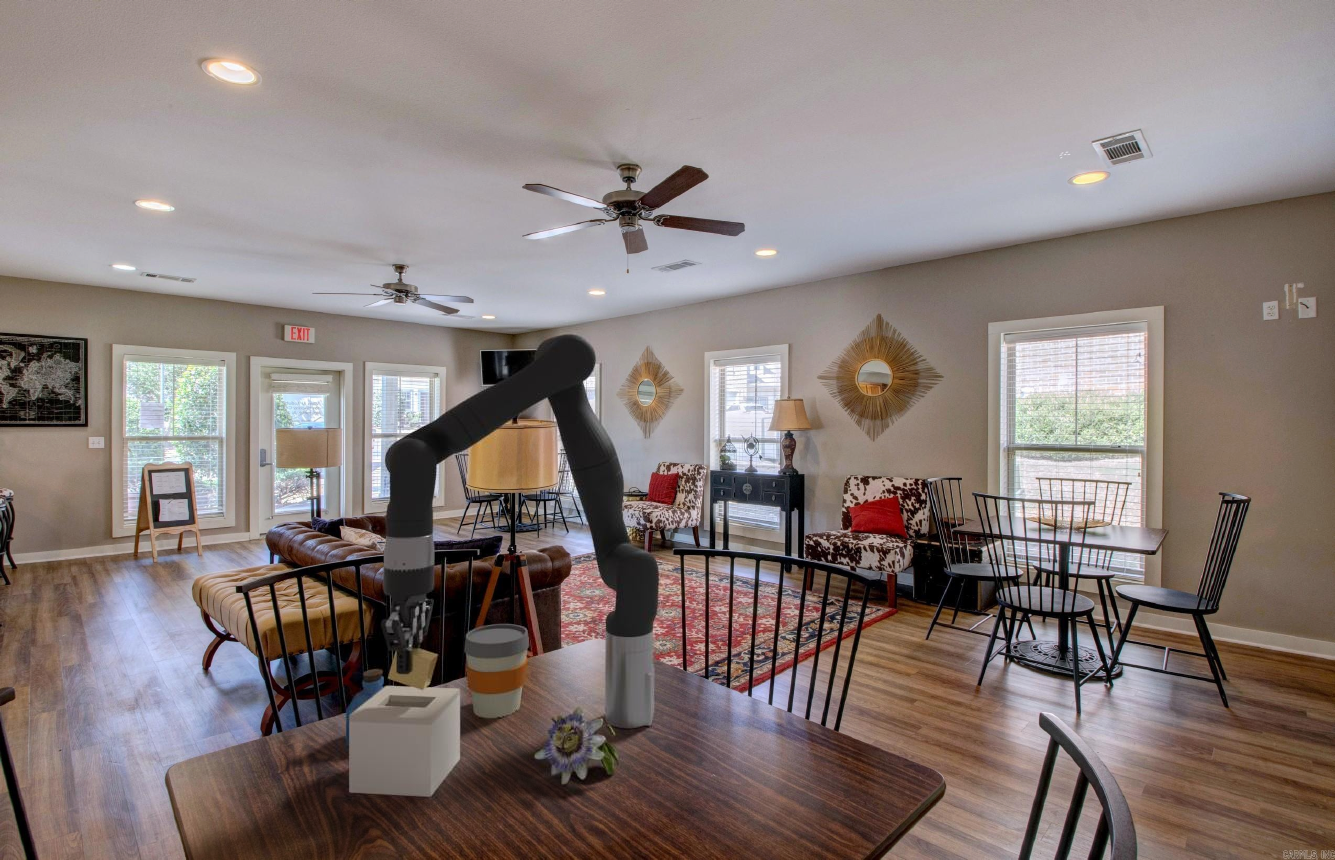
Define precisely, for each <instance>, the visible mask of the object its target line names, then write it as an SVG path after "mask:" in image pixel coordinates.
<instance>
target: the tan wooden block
mask: <svg viewBox="0 0 1335 860" xmlns="http://www.w3.org/2000/svg"><path fill="white" fill-rule="evenodd" d="M411 650H412V654H411V672H410V673H409V674H398V673H397V672H396V661H397V652H396V651H395V653H394V655H393V659H392V663H391V666H390V670H389V673H388V676H387V679H388V680H392V681H394V682H398V683H400V684H403V685H405V686H408V687H415V688H418V689H421V690H424V689H425V688H426V687H429V685H430V684H431V683H432V682H431V681H432V677H433V674H434V672H435V671H434V670H435V667H436V663H437V661H438V657H439V654H438V653H434V652H431V651H428V650H425V649H422V648H421V647H420V648H415V647H412V649H411Z"/></svg>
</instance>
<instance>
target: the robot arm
mask: <svg viewBox="0 0 1335 860" xmlns="http://www.w3.org/2000/svg"><path fill="white" fill-rule="evenodd" d="M534 353H535V354H534V360H533V362H531V363H529V364H528V365H527V366H525V367H524V368H523V369H521V370H519V371H518V372H516V373H514V374H512V375H510V376H509V377H507V378H506V379H503V380H502V381H499V382H498V383H495V384H493V385H491V386H489V387H487V388H485V389H483V390H481V391H479V392H477V393H476V394H474V395H472V396H469V397H468V398H466V399H465V400H463V401H461V402H460V403H458V404H457V405H455V406H453V407H452V408H450V409H448V410H447V411H446V412H444V413H442V414H441V415H440V416H439V417H437V418H436V419H434V420H433V421H431V422H429V423H427V424H426V425H423V426H421V427H419V428H418V429H416V430H414V431H411V432H410V433H407V434H406V435H405V436H403V437H401V438H399V439H398V440H396V441H395V442H394V443H392V444H391V445H390V446H389V448H388V449H387V450H386V453H385V457H384V464H385V468H386V469H387V471H388V473H389V501H388V503H387V507H386V513H385V515H386V516H385V542H384V549H383V550H384V551H383V593H384V594H385V595H386V596H389V597H391V598H392V601H391V606H390V616H389V618H388V619H382V620H381V622H380V628H381V630H382V634H383V637H384V640H385V643H386V646H387V649H388V651H395V652H397V661H396V672H397V673H398V674H409V673H410V672H411V654H412V650H411V649H412V647H415V648H420V649H421V643H422V642H423V640H424V636H427V635H428V632H429V626H430V622H431V617H432V612H433V607H434V602H435V601H434V599H433V598H430V599H429V598H427V594H429V593H431V592H432V591H433V590H434V588H435V542H434V509H433V508H434V507H433V501H434V495H435V490H436V481H437V470H438V469H437V466H438V465H439V464H441V463H442V462H444V461H445V460H447V459H448V458H450V457H451V456H454V454H455V455H456V454H459V453H460V454H461V453H462V452H464V451H466V450H468V449H470V448H471V447H473V446H474V445H476V444H477V443H479V442H481V440H483V439H484V438H485V439H486V437H488V436H490V435H491V434H493V433H494V432H495V431H497V430H498V429H500V428H501V427H502V426H504V425H505V424H507V423H509V422H510V421H511V420H513V419H514V418H517V416H519V415H520V414H521V413H523V412H525V411H526V410H529V408H531V407H533V406H534V405H536V404H538V403H540V402H542V401H543V400H546V399H547V401H548V402H549V404H550V407H551V410H552V413H553V415H554V419H555V422H556V424H557V429H558V432H559V435H560V439H561V442H562V446H563V449H564V453H565V456H566V460H567V463H568V468H569V470H570V473H571V477H572V480H573V483H574V486H575V489H576V492H577V495H578V498H579V500H580V502H581V507H582V510H583V513H584V516H585V519H586V521H587V524H588V527H589V531H590V535H591V539H592V544H593V549H594V554H595V559H596V565H597V568H598V569H597V570H598V573H599V576H600V578H601V580H602V582H603V583H604V584H605V586H607V588H608V589H611V590H612V591H615V607H614V610H612V611H610V612H609V613H608V614H607V615H606V617H605V657H604V658H605V666H604V667H605V668H604V669H605V671H604V673H605V677H604V678H605V679H604V680H605V683H604V684H605V685H604V686H605V687H604V688H605V689H604V690H605V692H604V693H605V694H604V697H605V703H604V705H605V706H604V717H605V718H604V719H605V722H606V724H608V723H609V724H610V726H612V727H615V728H620V729H636V728H640V727H645V726H647V727H650V726H652V721H653V719H654V714H655V664H654V622H655V619H656V617H657V613H658V607H659V587H660V585H659V584H660V573H659V565H658V562H657V559H656V558H655V556H654V555H653V554H652V553H651V552H649V551H647V550H645V549H642V548H639V547H636V546H634V544H633V543H632V540H631V537H630V536H629V533H628V530H627V527H626V524H625V520H624V516H623V515H624V514H623V505H624V503H623V502H624V491H625V483H624V482H625V480H624V474H623V470H622V468H621V467H622V466H621V464H620V460H619V457H618V453H617V451H616V448H615V445H614V443H613V441H612V439H611V437H610V436H609V434H608V433H607V430H606V429H605V428H604V426H603V424H602V423H601V421H600V420H599V418H598V417H597V414H596V413H595V412H594V410H593V407H592V406H591V404H590V401H589V398H588V396H587V394H588V393H587V391H586V388H585V383H584V382H585V381H586V380H587V379H588V378H589V377H590V376H591V375H592V373H593V372H594V369H595V368H596V362H597V360H596V359H597V358H596V352H595V349H594V347H593V346H592V344H591V342H590V341H588V340H587V339H586V338H584V337H582V336H580V335H578V334H572V333H570V334H569V333H567V334H565V333H564V334H561V335H556V336H554V337H553V336H552V337H550V338H547V339H545V340H544V341H542V342H541V343H540V344H539V345H538V346H537V348H536V350H535V352H534Z"/></svg>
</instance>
